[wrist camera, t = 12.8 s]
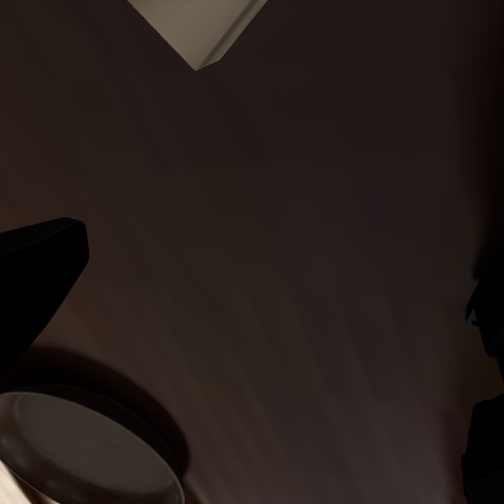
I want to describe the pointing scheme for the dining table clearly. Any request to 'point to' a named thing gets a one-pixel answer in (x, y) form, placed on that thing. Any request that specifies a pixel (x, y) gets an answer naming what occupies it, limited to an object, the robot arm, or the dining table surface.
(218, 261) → the dining table surface
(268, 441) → the dining table surface
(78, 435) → the plant saucer
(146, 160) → the dining table surface
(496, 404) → the robot arm
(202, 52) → the block
